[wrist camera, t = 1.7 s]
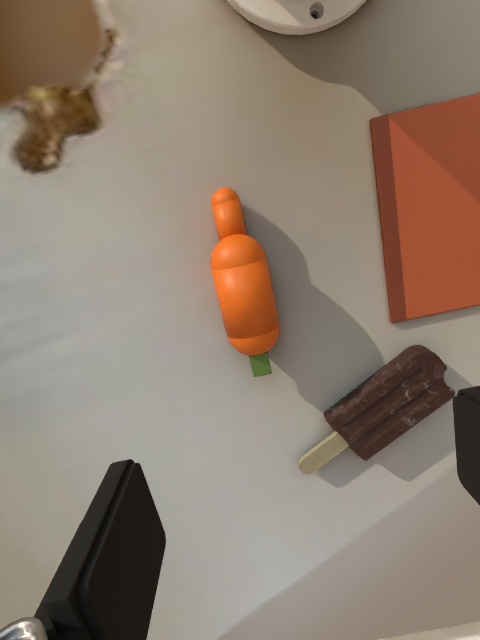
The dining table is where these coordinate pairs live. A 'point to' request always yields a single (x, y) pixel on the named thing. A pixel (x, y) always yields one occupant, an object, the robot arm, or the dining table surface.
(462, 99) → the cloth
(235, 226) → the carrot
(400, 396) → the ice cream bar
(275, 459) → the dining table surface
